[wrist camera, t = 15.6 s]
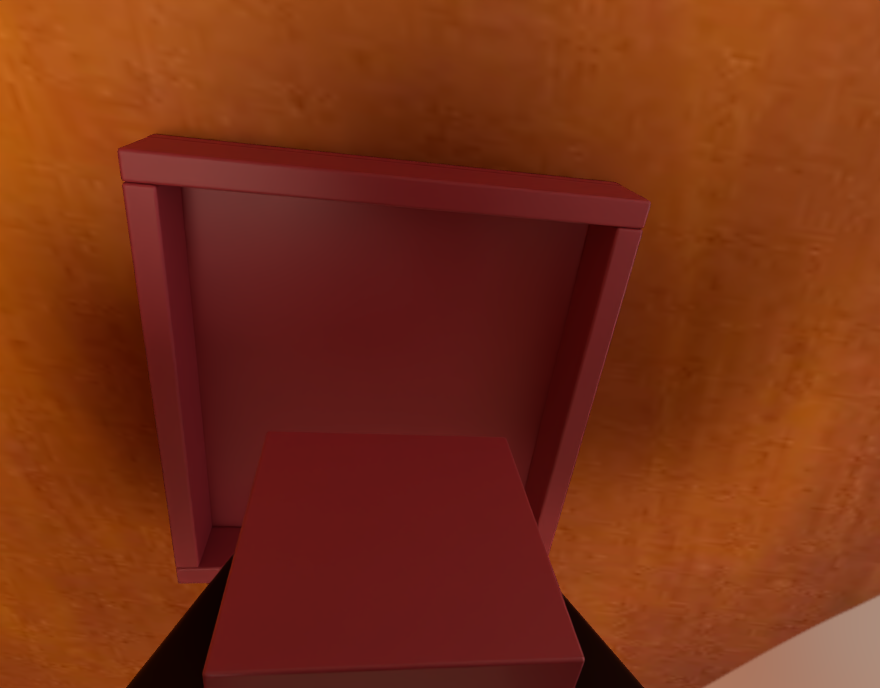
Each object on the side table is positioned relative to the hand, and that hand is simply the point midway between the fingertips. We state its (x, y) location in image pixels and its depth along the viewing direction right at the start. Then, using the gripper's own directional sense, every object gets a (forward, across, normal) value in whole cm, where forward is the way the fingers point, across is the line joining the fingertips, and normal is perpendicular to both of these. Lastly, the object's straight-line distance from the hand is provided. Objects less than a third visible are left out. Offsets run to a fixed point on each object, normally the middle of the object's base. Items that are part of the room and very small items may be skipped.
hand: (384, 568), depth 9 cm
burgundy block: (+1, 0, 0) cm, 1 cm away
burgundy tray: (+6, 0, 0) cm, 6 cm away
